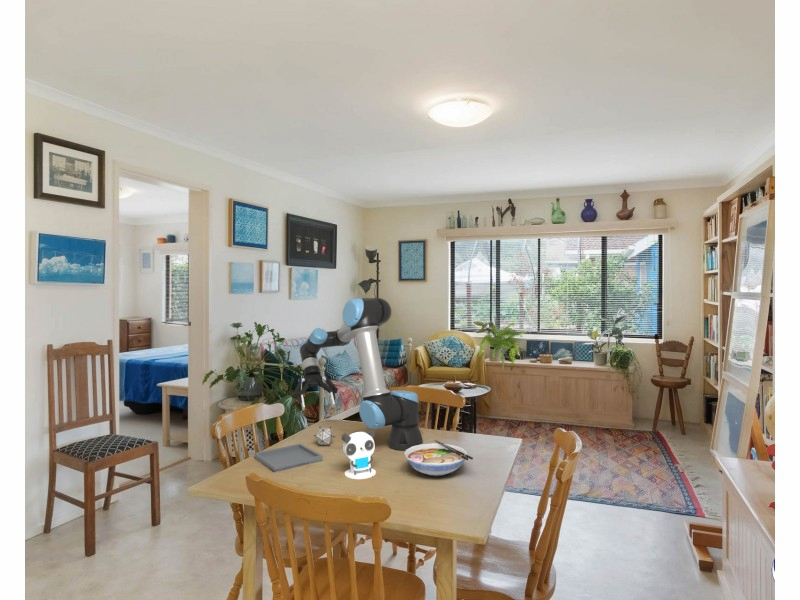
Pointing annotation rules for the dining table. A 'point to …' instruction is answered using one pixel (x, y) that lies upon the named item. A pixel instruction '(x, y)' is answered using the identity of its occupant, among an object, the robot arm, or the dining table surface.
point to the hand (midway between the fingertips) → (318, 407)
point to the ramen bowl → (436, 458)
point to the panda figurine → (359, 454)
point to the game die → (324, 436)
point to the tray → (288, 457)
